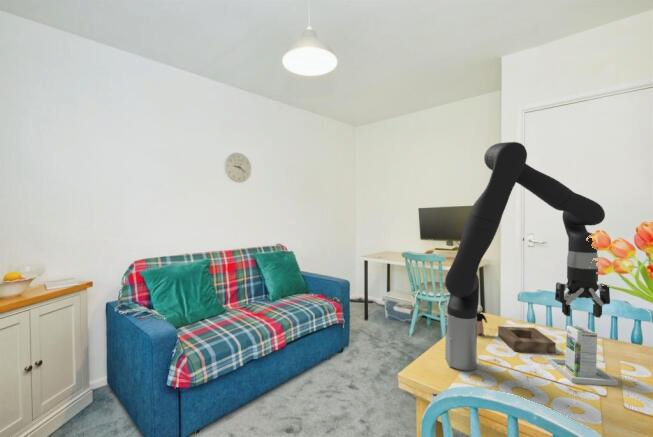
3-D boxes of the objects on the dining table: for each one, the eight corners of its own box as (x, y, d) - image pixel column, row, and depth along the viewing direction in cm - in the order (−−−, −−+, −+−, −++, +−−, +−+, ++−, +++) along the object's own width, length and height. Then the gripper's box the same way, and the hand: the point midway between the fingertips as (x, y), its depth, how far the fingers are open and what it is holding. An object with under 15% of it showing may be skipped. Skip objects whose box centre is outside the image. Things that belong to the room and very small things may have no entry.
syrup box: (564, 368, 99) (565, 325, 99) (584, 369, 98) (584, 325, 98) (576, 377, 94) (577, 332, 93) (597, 379, 93) (598, 333, 92)
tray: (571, 382, 91) (571, 378, 91) (547, 362, 103) (547, 357, 103) (617, 386, 89) (617, 381, 89) (587, 364, 101) (587, 360, 101)
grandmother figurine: (481, 331, 129) (481, 302, 129) (488, 335, 125) (488, 305, 125) (467, 334, 127) (467, 304, 126) (474, 337, 123) (474, 307, 122)
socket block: (514, 351, 111) (514, 340, 111) (498, 335, 125) (498, 326, 125) (555, 353, 109) (555, 343, 109) (534, 337, 123) (534, 328, 123)
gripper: (565, 267, 92) (564, 319, 93) (617, 268, 90) (616, 321, 91) (550, 263, 100) (550, 311, 100) (598, 264, 98) (598, 313, 98)
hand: (581, 316), depth 95 cm, fingers open, 8 cm apart
